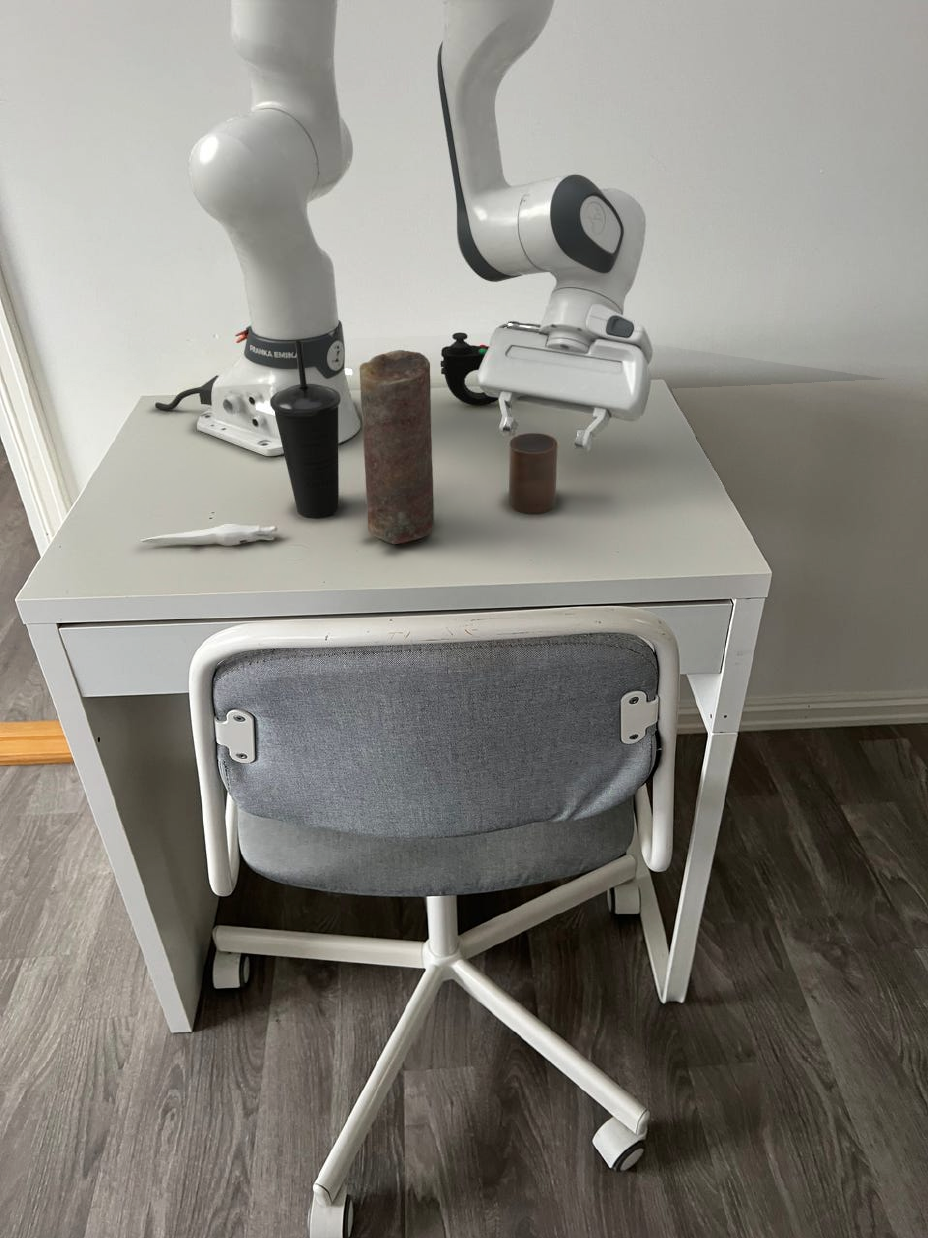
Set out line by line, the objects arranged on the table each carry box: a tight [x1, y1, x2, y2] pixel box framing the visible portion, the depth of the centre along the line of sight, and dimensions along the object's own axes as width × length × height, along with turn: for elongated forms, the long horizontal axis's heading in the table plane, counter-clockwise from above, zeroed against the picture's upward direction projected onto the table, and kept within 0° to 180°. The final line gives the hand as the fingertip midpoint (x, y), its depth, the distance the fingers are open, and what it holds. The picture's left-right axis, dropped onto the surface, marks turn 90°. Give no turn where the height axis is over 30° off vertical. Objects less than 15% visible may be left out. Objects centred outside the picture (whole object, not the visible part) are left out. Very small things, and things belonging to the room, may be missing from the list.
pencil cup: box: [508, 432, 558, 515], centre depth 112 cm, size 5×5×8 cm
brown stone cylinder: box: [358, 349, 435, 545], centre depth 103 cm, size 8×7×20 cm
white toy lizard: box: [139, 523, 278, 547], centre depth 108 cm, size 15×3×2 cm, turn 96°
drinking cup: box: [270, 340, 341, 519], centre depth 109 cm, size 8×8×20 cm
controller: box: [439, 332, 499, 407], centre depth 136 cm, size 4×12×10 cm, turn 90°
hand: (543, 440), depth 113 cm, fingers open, 8 cm apart
